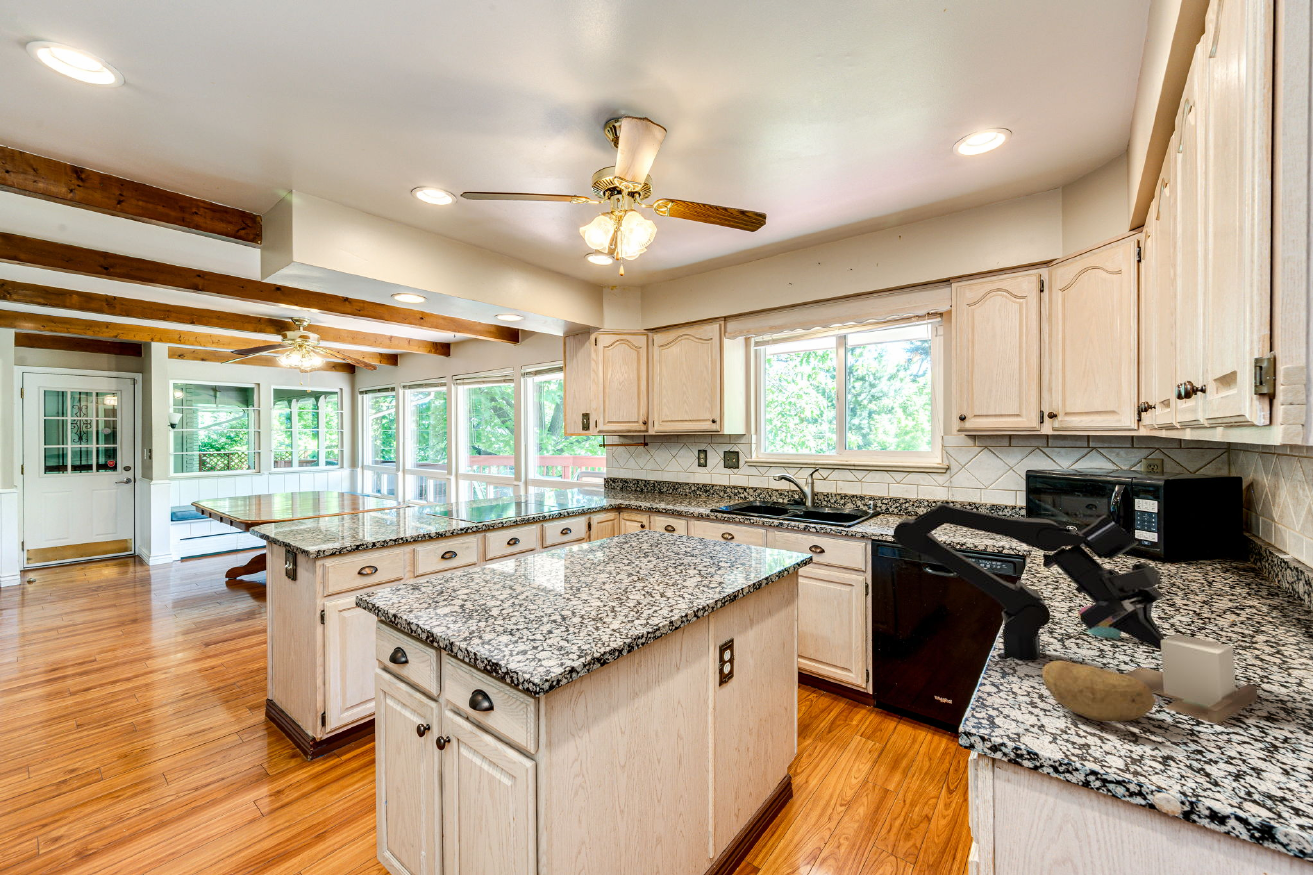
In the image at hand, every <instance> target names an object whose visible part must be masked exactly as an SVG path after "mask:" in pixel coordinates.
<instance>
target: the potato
mask: <svg viewBox="0 0 1313 875" xmlns="http://www.w3.org/2000/svg"><path fill="white" fill-rule="evenodd" d="M1041 674H1042V681H1043V683H1044V686H1045V688H1046V689H1047V691H1048V692H1049V694H1050V695H1051V697H1052V698H1054V700H1056V702H1058V703H1059V704H1061V705H1062V706H1063V707H1065V708H1066V709H1067V710H1069V711H1071V712H1073V713H1074V714H1076V715H1079V716H1081V717H1084V718H1086V719H1088V720H1092V721H1097V722H1101V723H1102V722H1103V723H1113V722H1115V723H1117V722H1128V721H1133V720H1137V719H1139V718H1140V719H1141V717H1143V716H1145V715H1146V714H1148V713H1150V712H1151V711H1153V708H1154V706H1155V704H1156V699H1155V698H1154V695H1153V692H1151V690H1150V688H1149V687H1148V686H1147V685H1146V684H1145V683H1143V682H1141V681H1139V680H1137V679H1134V678H1132V677H1130V676H1128V675H1124V674H1125V673H1123V674H1122V673H1118V672H1114V671H1112V670H1107V669H1104V668H1100V667H1096V666H1092V665H1085V664H1079V663H1075V662H1071V661H1065V660H1064V661H1063V660H1053V661H1050V662H1048V663H1046V664H1044V666H1043V668H1042V670H1041Z"/></svg>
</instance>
